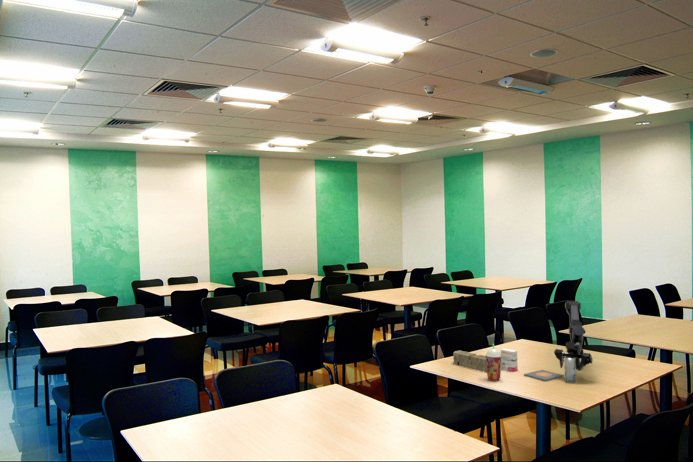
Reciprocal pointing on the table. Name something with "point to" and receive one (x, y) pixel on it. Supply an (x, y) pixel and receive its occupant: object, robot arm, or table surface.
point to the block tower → (470, 360)
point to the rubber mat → (543, 375)
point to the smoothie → (493, 364)
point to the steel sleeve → (570, 369)
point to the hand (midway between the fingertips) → (569, 369)
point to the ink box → (509, 360)
